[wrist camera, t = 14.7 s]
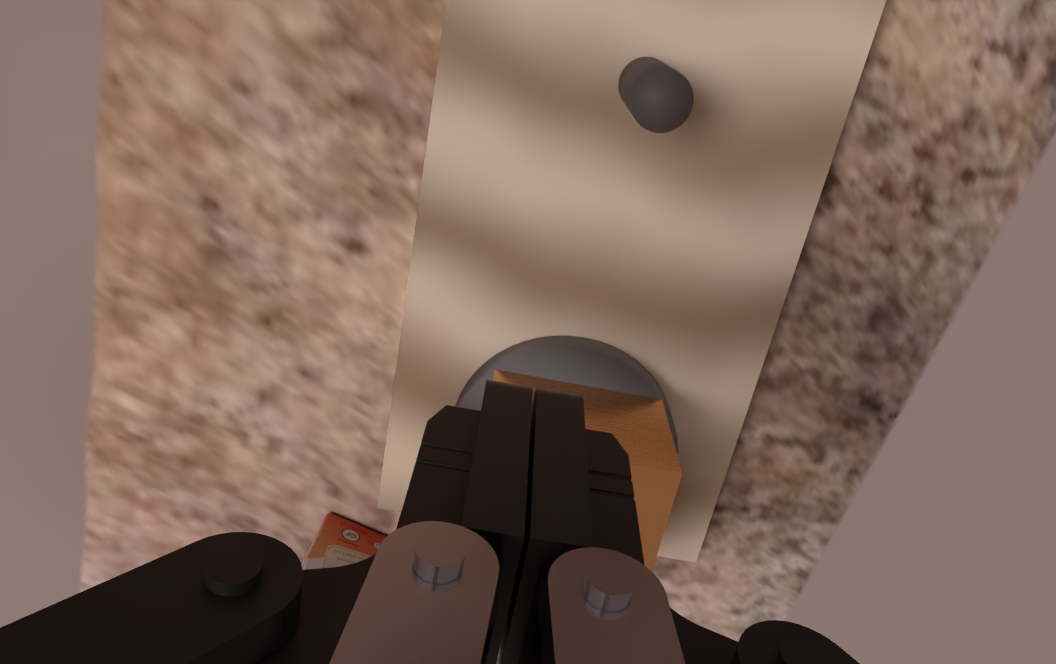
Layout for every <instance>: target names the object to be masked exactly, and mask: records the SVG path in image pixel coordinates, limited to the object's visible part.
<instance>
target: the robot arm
mask: <svg viewBox="0 0 1056 664" xmlns="http://www.w3.org/2000/svg"><path fill="white" fill-rule="evenodd" d="M532 394H533V388H532V387H527V386H522V385H516V384H510V383H504V382H499V381H493V380H487V379H486V384H485V390H484V395H483V401H482V407H481V411H478V410H472V409H466V408H461V407H455V406H449V405H446V406H445V407H443V408H442V409H441V410H440V411H439V412H437V413H436V414H435V415H434V416H433V417H431V418H430V419H429V420H428V421H427V424H426V427H425V431H424V434H423V438H422V441H421V446H420V448H419V452H418V455H417V459H416V463H415V466H414V469H413V473H412V476H411V480H410V483H409V487H408V490H407V494H406V497H405V501H404V504H403V508H402V511H401V515H400V518H399V522H398V525H397V529H396V530H395V531H393V532H392V533H391V534H389V535H388V536H387V537H386V538H385V539H384V540H383V542H382V543H381V545H380V547H379V549H378V551H377V553H376V554H375V555H373V556H371V557H369V558H367V559H365V560H362V561H359V562H357V563H353V564H349V565H345V566H339V567H331V568H319V569H306V570H303V569H302V565H301V562H300V560H299V558H298V556H297V555H296V554H295V552H294V551H293V550H292V549H291V548H290V547H288V546H287V545H286V544H284V543H283V542H281V541H279V540H277V539H275V538H272V537H269V536H266V535H262V534H257V533H248V532H231V533H224V534H218V535H214V536H210V537H207V538H204V539H201V540H199V541H196V542H194V543H192V544H189V545H187V546H185V547H183V548H180V549H178V550H176V551H174V552H171V553H169V554H167V555H165V556H162V557H160V558H158V559H155V560H153V561H151V562H149V563H146V564H144V565H142V566H140V567H137V568H135V569H133V570H131V571H128V572H126V573H124V574H121V575H119V576H117V577H115V578H112V579H110V580H108V581H106V582H103V583H101V584H99V585H96V586H94V587H92V588H90V589H87V590H85V591H83V592H81V593H78V594H76V595H74V596H72V597H69V598H67V599H65V600H62V601H60V602H58V603H56V604H53V605H51V606H49V607H47V608H44V609H42V610H40V611H38V612H35V613H33V614H31V615H29V616H26V617H24V618H22V619H19V620H17V621H15V622H13V623H10V624H8V625H6V626H4V627H1V628H0V664H496V663H497V658H498V653H499V649H500V656H499V664H859V663H858V662H857V661H856V660H855V659H853V658H852V657H851V656H850V655H849V654H847V653H846V652H845V651H844V650H843V649H841V648H840V647H839V646H838V645H836V644H835V643H834V642H832V641H831V640H830V639H828V638H826V637H825V636H823V635H821V634H820V633H817V632H816V631H814V630H812V629H809V628H807V627H804V626H801V625H799V624H795V623H791V622H786V621H778V620H772V621H763V622H759V623H756V624H754V625H752V626H750V627H749V628H747V629H746V630H745V631H744V633H743V634H742V635H741V637H740V640H739V642H737V641H735V640H732V639H730V638H727V637H725V636H723V635H720V634H718V633H715V632H713V631H711V630H708V629H706V628H703V627H701V626H699V625H697V624H695V623H693V622H691V621H689V620H687V619H686V618H684V617H682V616H681V615H679V614H678V613H677V612H675V611H674V610H673V609H671V608H670V606H669V602H668V599H667V595H666V592H665V590H664V587H663V586H662V584H661V582H660V581H659V579H658V578H657V577H656V576H655V575H654V573H653V572H651V571H650V570H649V569H648V568H647V567H646V566H645V564H644V557H643V550H642V544H641V537H640V530H639V523H638V516H637V510H636V503H635V500H634V489H633V483H632V481H631V478H632V476H631V469H630V462H629V455H628V454H627V452H626V451H625V450H624V448H623V447H622V446H621V444H620V443H619V442H618V440H617V439H616V438H615V437H614V435H613V434H612V433H607V432H601V431H596V430H590V429H585V415H584V399H583V396H580V395H575V394H569V393H563V392H557V391H551V390H546V389H540V388H536V390H535V393H534V397H533V401H532Z"/></svg>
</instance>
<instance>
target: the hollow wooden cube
mask: <svg viewBox="0 0 1056 664" xmlns="http://www.w3.org/2000/svg"><path fill="white" fill-rule="evenodd" d="M493 381H499V382H504V383H510V384H516V385H522V386H527V387H532V388H533V394H532V401H533V397H534V393H535V390H536V388H540V389H546V390H551V391H557V392H563V393H569V394H575V395H580V396H583V399H584V415H585V429H590V430H596V431H601V432H607V433H612V434H613V435H614V437H615V438H616V439H617V440H618V442H619V443H620V444H621V446H622V447H623V448H624V450H625V451H626V452H627V454H628V455H629V462H630V469H631V476H632V478H631V481H632V483H633V489H634V500H635V503H636V510H637V516H638V523H639V530H640V537H641V544H642V550H643V557H644V564H645V566H646V567H647V568H648V569H649V570H650V571H651V572H652V569H653V566H654V563H655V560H656V557H657V553H658V550H659V547H660V544H661V541H662V537H663V534H664V531H665V528H666V525H667V521H668V518H669V515H670V512H671V509H672V505H673V502H674V499H675V496H676V493H677V489H678V486H679V483H680V480H681V477H682V470H681V466H680V462H679V459H678V455H677V451H676V448H675V444H674V441H673V437H672V433H671V430H670V426H669V422H668V419H667V415H666V411H665V408H664V404H663V400H662V399H657V398H651V397H645V396H640V395H634V394H629V393H623V392H618V391H612V390H607V389H601V388H596V387H590V386H585V385H579V384H574V383H568V382H562V381H557V380H551V379H546V378H540V377H535V376H529V375H524V374H518V373H513V372H507V371H502V370H496V369H494V375H493Z"/></svg>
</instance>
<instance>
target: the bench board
mask: <svg viewBox="0 0 1056 664" xmlns="http://www.w3.org/2000/svg"><path fill="white" fill-rule="evenodd" d="M885 3H886V0H446V7H445V15H444V22H443V29H442V37H441V44H440V51H439V59H438V66H437V73H436V81H435V88H434V95H433V103H432V110H431V117H430V125H429V132H428V139H427V147H426V154H425V161H424V169H423V176H422V183H421V191H420V198H419V205H418V213H417V220H416V227H415V235H414V242H413V249H412V257H411V264H410V271H409V279H408V286H407V293H406V301H405V308H404V315H403V323H402V330H401V337H400V345H399V352H398V359H397V367H396V374H395V381H394V389H393V396H392V403H391V411H390V418H389V425H388V433H387V440H386V447H385V455H384V462H383V469H382V477H381V484H380V491H379V499H378V506H377V508H380V509H386V510H392V511H397V512H401V511H402V508H403V504H404V501H405V497H406V494H407V490H408V487H409V483H410V480H411V476H412V473H413V469H414V466H415V463H416V459H417V455H418V452H419V448H420V446H421V441H422V438H423V434H424V431H425V427H426V424H427V421H428V420H429V419H430V418H431V417H433V416H434V415H435V414H436V413H437V412H439V411H440V410H441V409H442V408H443V407H445V406H446V405H449V406H455V407H461V408H466V409H472V410H478V411H481V407H482V401H483V395H484V390H485V384H486V379H487V380H493V375H494V369H496V370H502V371H507V372H513V373H518V374H524V375H529V376H535V377H540V378H546V379H551V380H557V381H562V382H568V383H574V384H579V385H585V386H590V387H596V388H601V389H607V390H612V391H618V392H623V393H629V394H634V395H640V396H645V397H651V398H657V399H662V400H663V404H664V408H665V411H666V415H667V419H668V422H669V426H670V430H671V433H672V437H673V441H674V444H675V448H676V451H677V455H678V459H679V462H680V466H681V470H682V477H681V480H680V483H679V486H678V489H677V493H676V496H675V499H674V502H673V505H672V509H671V512H670V515H669V518H668V521H667V525H666V528H665V531H664V534H663V537H662V541H661V544H660V547H659V550H658V553H657V556H660V557H666V558H672V559H678V560H684V561H690V562H695V563H696V561H697V558H698V555H699V552H700V549H701V547H702V544H703V541H704V538H705V535H706V532H707V529H708V526H709V523H710V520H711V517H712V514H713V511H714V508H715V505H716V502H717V499H718V496H719V493H720V490H721V487H722V484H723V482H724V479H725V476H726V473H727V470H728V467H729V464H730V461H731V458H732V455H733V452H734V449H735V446H736V443H737V440H738V437H739V434H740V431H741V428H742V425H743V422H744V419H745V417H746V414H747V411H748V408H749V405H750V402H751V399H752V396H753V393H754V390H755V387H756V384H757V381H758V378H759V375H760V372H761V369H762V366H763V363H764V360H765V357H766V354H767V352H768V349H769V346H770V343H771V340H772V337H773V334H774V331H775V328H776V325H777V322H778V319H779V316H780V313H781V310H782V307H783V304H784V301H785V298H786V295H787V292H788V289H789V287H790V284H791V281H792V278H793V275H794V272H795V269H796V266H797V263H798V260H799V257H800V254H801V251H802V248H803V245H804V242H805V239H806V236H807V233H808V230H809V227H810V224H811V222H812V219H813V216H814V213H815V210H816V207H817V204H818V201H819V198H820V195H821V192H822V189H823V186H824V183H825V180H826V177H827V174H828V171H829V168H830V165H831V162H832V159H833V157H834V154H835V151H836V148H837V145H838V142H839V139H840V136H841V133H842V130H843V127H844V124H845V121H846V118H847V115H848V112H849V109H850V106H851V103H852V100H853V97H854V94H855V92H856V89H857V86H858V83H859V80H860V77H861V74H862V71H863V68H864V65H865V62H866V59H867V56H868V53H869V50H870V47H871V44H872V41H873V38H874V35H875V32H876V29H877V27H878V24H879V21H880V18H881V15H882V12H883V9H884V6H885Z"/></svg>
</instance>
